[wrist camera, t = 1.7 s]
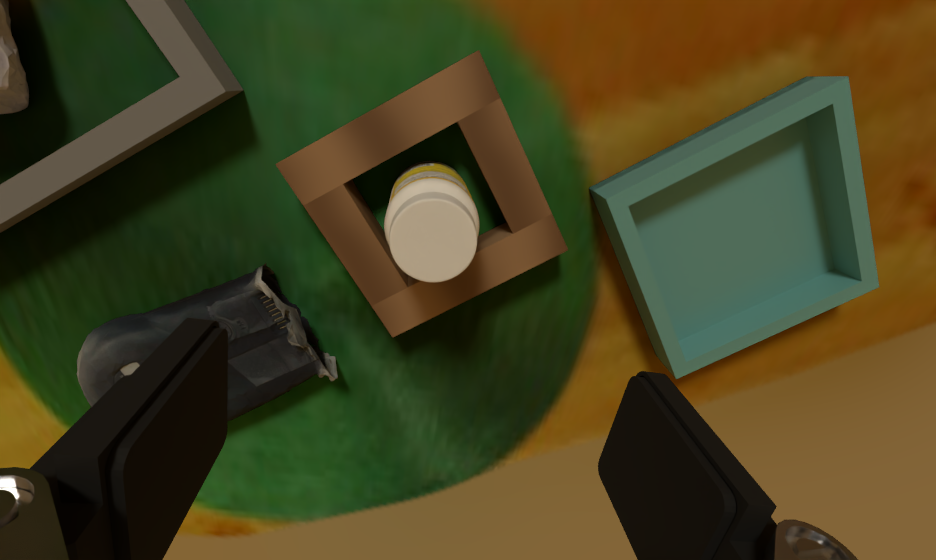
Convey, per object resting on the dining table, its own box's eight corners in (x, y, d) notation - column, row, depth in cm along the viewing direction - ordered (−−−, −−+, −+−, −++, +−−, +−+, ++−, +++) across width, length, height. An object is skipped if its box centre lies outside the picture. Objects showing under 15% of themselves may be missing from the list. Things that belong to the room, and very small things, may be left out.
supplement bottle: (449, 248, 30) (458, 306, 22) (379, 218, 29) (363, 269, 21) (482, 179, 29) (503, 216, 21) (409, 145, 28) (404, 171, 20)
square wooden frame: (474, 52, 26) (479, 50, 24) (557, 236, 30) (568, 250, 28) (287, 157, 27) (275, 164, 25) (394, 318, 32) (392, 337, 29)
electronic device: (268, 235, 31) (52, 341, 30) (258, 272, 26) (1, 399, 25) (340, 338, 35) (156, 431, 35) (344, 385, 31) (130, 494, 30)
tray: (806, 76, 28) (848, 76, 25) (841, 269, 33) (879, 286, 31) (588, 187, 29) (606, 199, 27) (656, 355, 35) (676, 379, 32)
